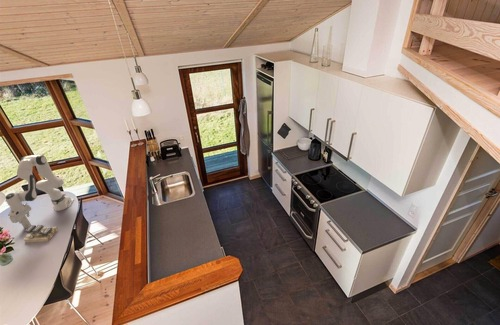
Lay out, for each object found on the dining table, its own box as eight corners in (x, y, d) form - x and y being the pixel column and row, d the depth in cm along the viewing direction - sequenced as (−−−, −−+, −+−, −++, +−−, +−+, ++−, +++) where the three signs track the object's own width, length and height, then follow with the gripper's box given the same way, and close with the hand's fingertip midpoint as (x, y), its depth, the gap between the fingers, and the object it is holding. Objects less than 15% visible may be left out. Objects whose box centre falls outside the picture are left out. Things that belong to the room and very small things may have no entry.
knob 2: (40, 230, 253) (37, 224, 249) (45, 229, 253) (42, 224, 249) (35, 235, 246) (32, 230, 242) (40, 235, 246) (36, 230, 242)
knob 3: (49, 232, 255) (46, 227, 251) (53, 232, 255) (51, 227, 252) (44, 238, 248) (41, 233, 245) (48, 238, 248) (45, 233, 245)
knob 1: (33, 230, 252) (30, 225, 249) (38, 230, 253) (35, 225, 249) (28, 236, 246) (24, 231, 242) (32, 236, 246) (29, 230, 242)
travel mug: (27, 229, 259) (18, 215, 249) (22, 228, 261) (13, 214, 251) (33, 225, 265) (24, 211, 255) (28, 224, 266) (19, 210, 256)
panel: (36, 230, 258) (34, 227, 256) (58, 229, 259) (56, 226, 257) (25, 242, 244) (23, 239, 242) (48, 241, 245) (46, 238, 243)
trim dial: (32, 236, 245) (30, 234, 244) (35, 236, 245) (33, 234, 244) (30, 238, 243) (28, 236, 241) (33, 238, 243) (31, 236, 241)
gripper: (23, 201, 242) (29, 212, 249) (6, 216, 224) (13, 227, 231) (29, 201, 242) (35, 212, 249) (13, 215, 224) (20, 226, 231)
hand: (24, 219), depth 240 cm, fingers open, 8 cm apart
